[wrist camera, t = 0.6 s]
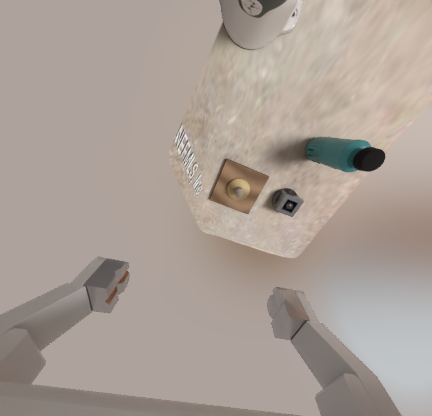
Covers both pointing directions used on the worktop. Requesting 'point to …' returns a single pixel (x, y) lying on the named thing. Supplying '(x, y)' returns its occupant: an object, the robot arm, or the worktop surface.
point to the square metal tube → (282, 200)
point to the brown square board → (238, 186)
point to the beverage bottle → (345, 154)
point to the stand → (288, 202)
